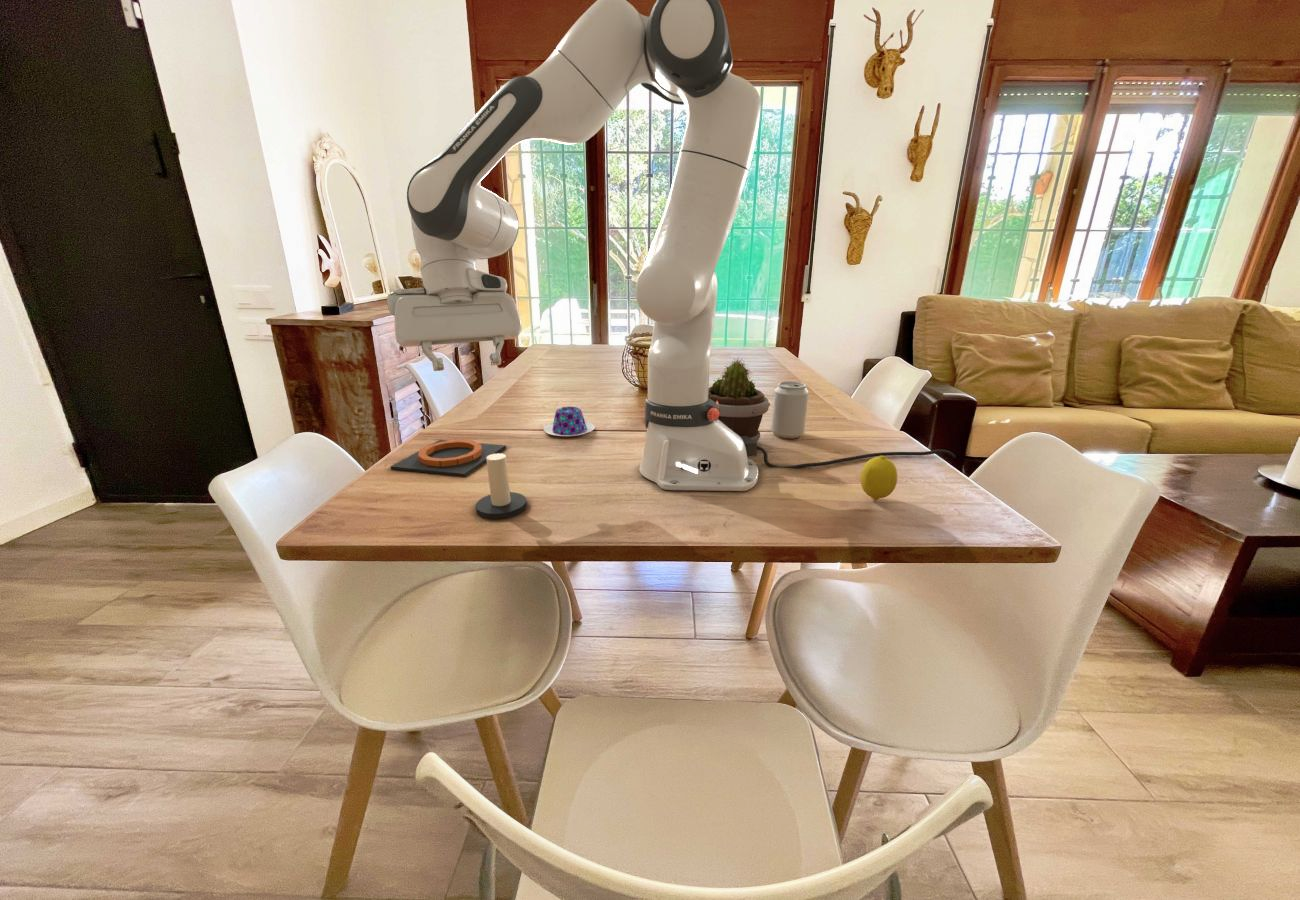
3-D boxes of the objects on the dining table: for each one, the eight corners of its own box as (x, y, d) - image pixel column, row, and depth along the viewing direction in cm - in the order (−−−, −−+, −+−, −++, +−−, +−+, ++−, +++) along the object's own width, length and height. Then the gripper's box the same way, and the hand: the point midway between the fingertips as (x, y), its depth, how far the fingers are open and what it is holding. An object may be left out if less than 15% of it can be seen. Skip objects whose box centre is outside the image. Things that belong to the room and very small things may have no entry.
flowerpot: (699, 433, 120) (702, 346, 114) (766, 437, 117) (773, 348, 111) (691, 453, 107) (694, 356, 100) (767, 458, 104) (775, 359, 97)
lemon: (890, 510, 83) (898, 464, 81) (854, 502, 86) (861, 457, 83) (895, 497, 88) (903, 453, 85) (861, 490, 91) (867, 447, 88)
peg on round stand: (535, 499, 87) (530, 450, 84) (512, 521, 80) (507, 468, 77) (492, 495, 89) (486, 446, 86) (466, 516, 82) (459, 463, 78)
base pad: (506, 447, 111) (505, 440, 110) (464, 476, 96) (463, 467, 96) (440, 442, 114) (439, 434, 114) (390, 469, 100) (389, 460, 99)
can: (808, 432, 120) (813, 382, 116) (798, 441, 114) (803, 389, 110) (776, 427, 124) (781, 378, 120) (765, 436, 118) (770, 384, 114)
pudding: (534, 436, 118) (532, 414, 116) (558, 421, 129) (556, 401, 127) (582, 441, 115) (581, 418, 113) (602, 425, 125) (601, 404, 124)
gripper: (384, 281, 80) (402, 368, 79) (515, 278, 89) (531, 356, 89) (384, 296, 85) (400, 378, 85) (507, 292, 95) (522, 366, 95)
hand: (468, 367), depth 87 cm, fingers open, 8 cm apart
